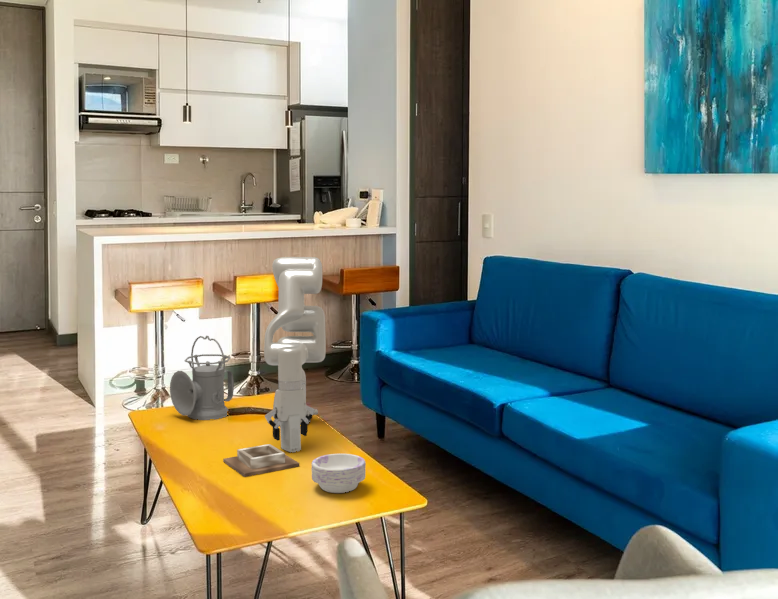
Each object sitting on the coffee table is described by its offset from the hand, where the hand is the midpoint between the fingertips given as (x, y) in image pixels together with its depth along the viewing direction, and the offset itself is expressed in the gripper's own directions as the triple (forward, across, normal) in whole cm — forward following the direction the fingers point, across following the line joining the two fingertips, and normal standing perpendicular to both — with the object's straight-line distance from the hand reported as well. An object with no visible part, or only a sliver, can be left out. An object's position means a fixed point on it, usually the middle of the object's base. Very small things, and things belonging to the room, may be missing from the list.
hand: (290, 437), depth 262 cm
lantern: (+4, +7, -54) cm, 55 cm away
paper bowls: (+5, +4, +38) cm, 38 cm away
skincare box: (+4, 0, 0) cm, 5 cm away
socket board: (+4, +14, +8) cm, 16 cm away
